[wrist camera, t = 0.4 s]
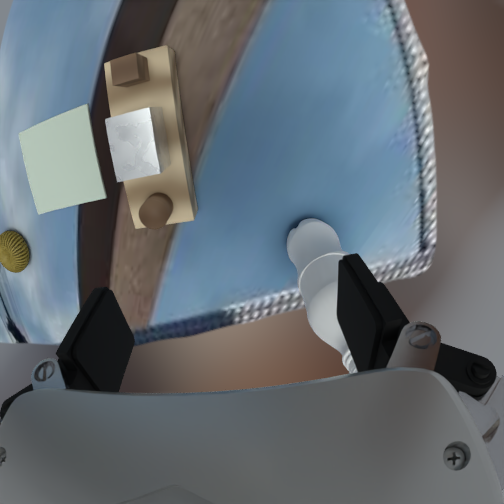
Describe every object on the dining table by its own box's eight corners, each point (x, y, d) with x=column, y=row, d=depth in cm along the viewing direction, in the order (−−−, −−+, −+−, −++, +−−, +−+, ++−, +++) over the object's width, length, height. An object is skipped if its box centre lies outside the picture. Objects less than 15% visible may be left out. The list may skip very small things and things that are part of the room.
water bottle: (323, 260, 44) (385, 397, 22) (279, 254, 43) (314, 401, 21) (337, 218, 41) (425, 342, 19) (290, 209, 40) (349, 342, 18)
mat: (20, 133, 31) (18, 133, 31) (88, 103, 31) (87, 103, 30) (39, 213, 38) (38, 214, 37) (107, 197, 38) (106, 198, 37)
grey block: (122, 116, 29) (104, 119, 25) (161, 106, 29) (149, 107, 24) (132, 171, 32) (117, 182, 28) (171, 164, 32) (160, 173, 28)
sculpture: (-13, 242, 35) (9, 232, 35) (-1, 232, 39) (22, 222, 38) (4, 279, 39) (28, 273, 38) (15, 268, 42) (39, 261, 42)
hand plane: (116, 66, 29) (89, 60, 22) (174, 51, 29) (158, 38, 22) (144, 217, 39) (125, 242, 32) (198, 209, 39) (189, 234, 32)
